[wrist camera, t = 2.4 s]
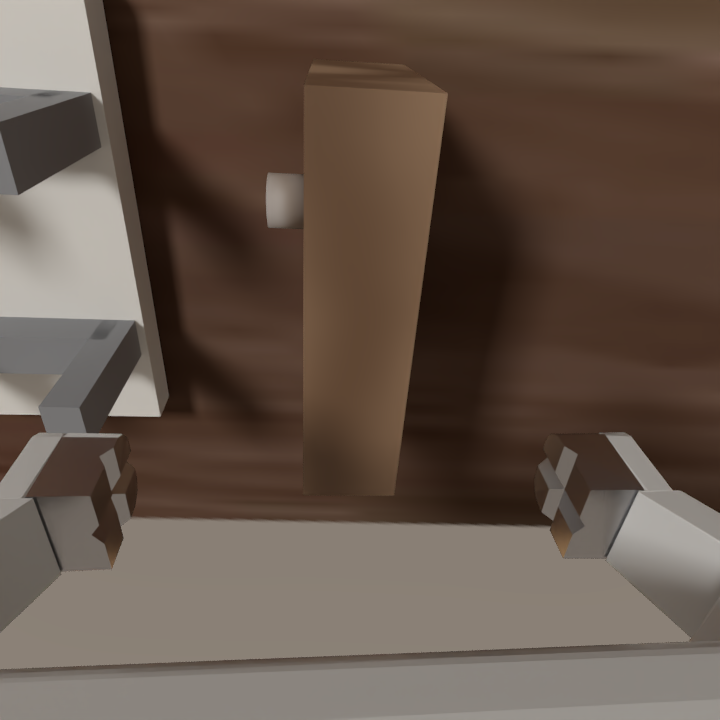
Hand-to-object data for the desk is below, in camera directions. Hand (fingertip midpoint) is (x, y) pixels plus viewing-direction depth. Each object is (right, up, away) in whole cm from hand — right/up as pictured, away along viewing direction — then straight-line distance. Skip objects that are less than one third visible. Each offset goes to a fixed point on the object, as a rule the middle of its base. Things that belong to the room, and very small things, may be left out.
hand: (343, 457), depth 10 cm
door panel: (0, +7, +11) cm, 13 cm away
